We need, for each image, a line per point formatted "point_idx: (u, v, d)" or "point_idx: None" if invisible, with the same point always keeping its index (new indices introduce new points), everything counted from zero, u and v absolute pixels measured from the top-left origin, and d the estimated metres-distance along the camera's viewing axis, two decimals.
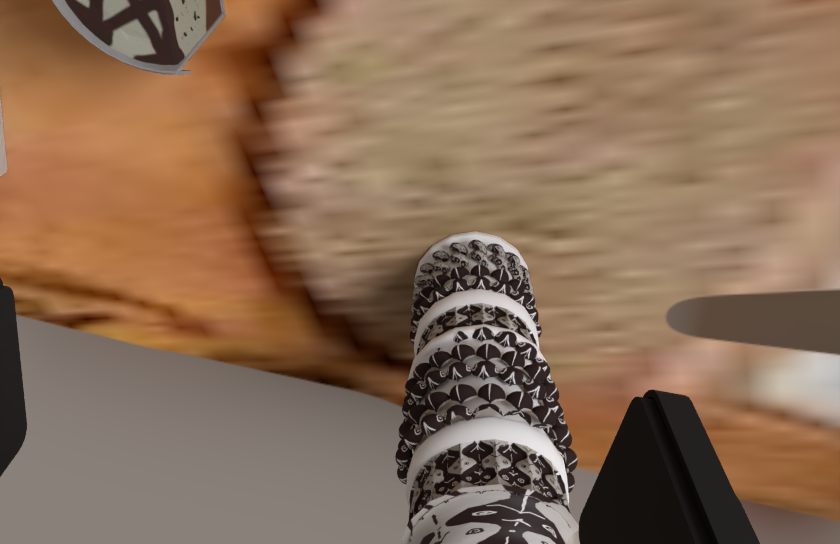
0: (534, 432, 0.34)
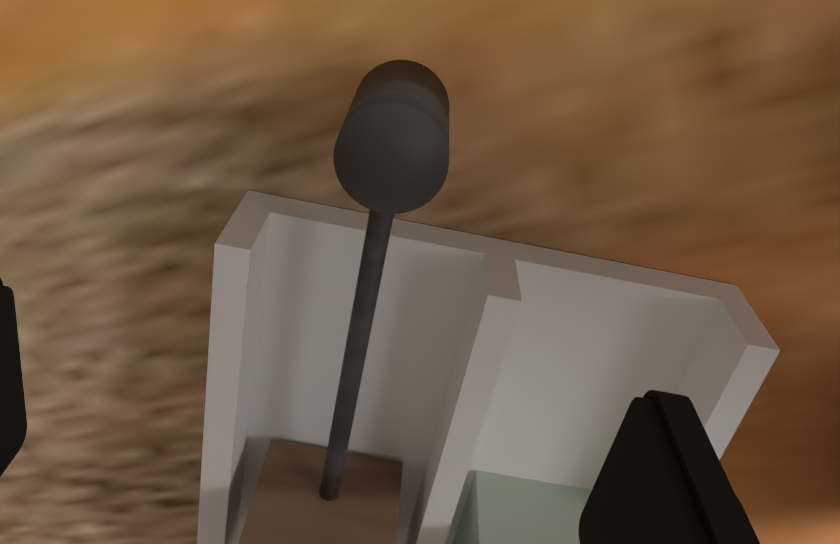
0: None
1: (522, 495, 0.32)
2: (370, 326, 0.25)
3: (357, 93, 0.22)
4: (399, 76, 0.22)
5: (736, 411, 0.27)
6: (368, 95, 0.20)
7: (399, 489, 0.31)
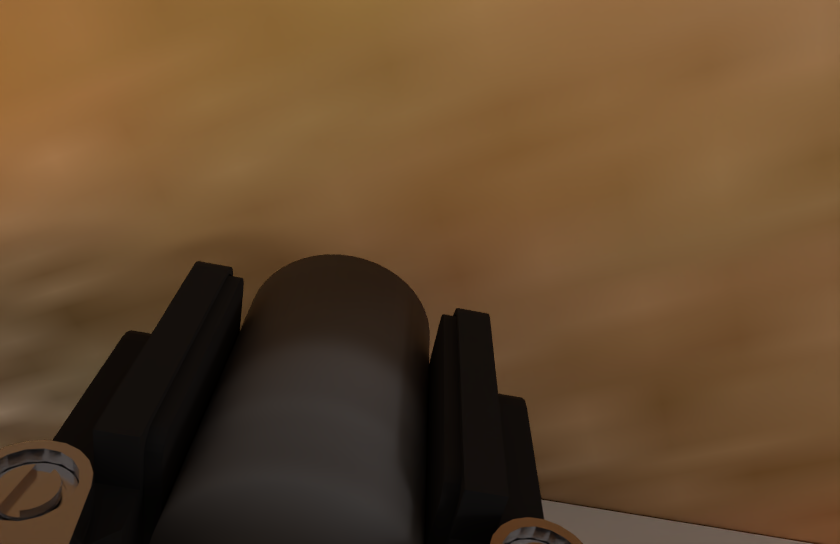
0: None
1: None
2: None
3: (236, 347, 0.11)
4: (319, 324, 0.10)
5: None
6: (238, 402, 0.09)
7: None
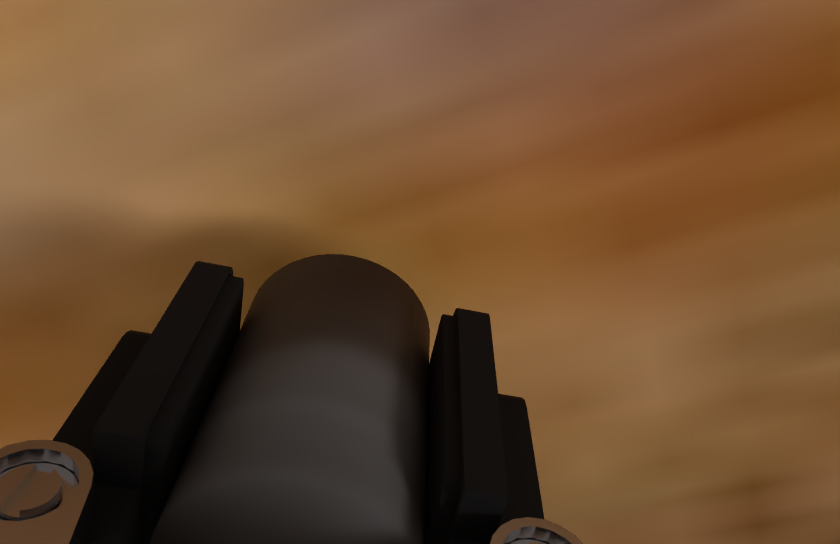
0: None
1: None
2: None
3: (236, 346, 0.11)
4: (321, 324, 0.10)
5: None
6: (239, 402, 0.09)
7: None
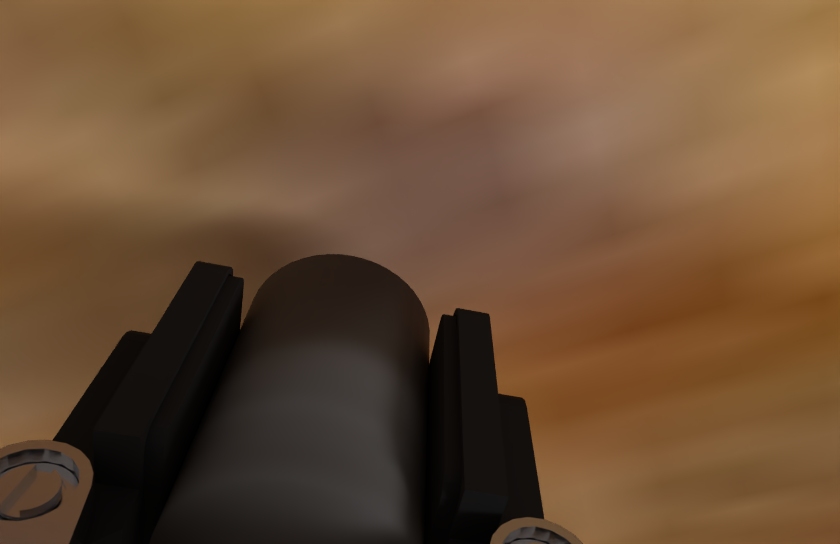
0: None
1: None
2: None
3: (236, 346, 0.11)
4: (320, 324, 0.10)
5: None
6: (239, 402, 0.09)
7: None
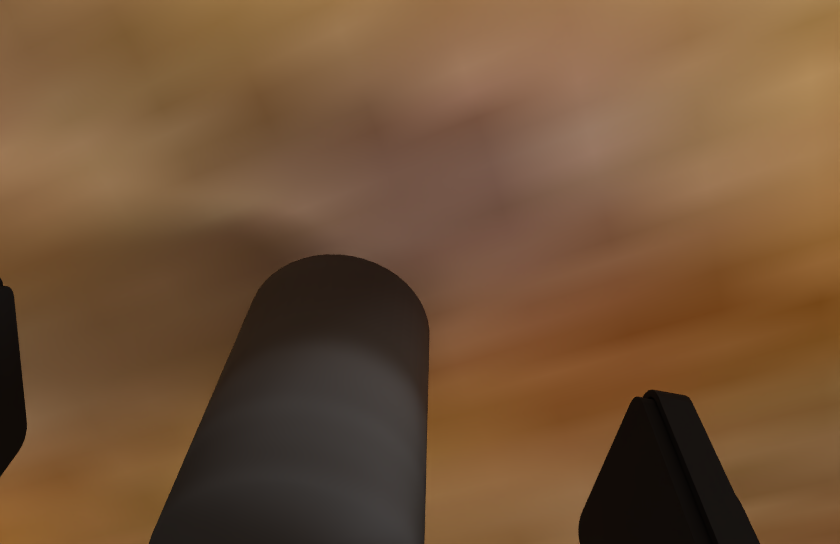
0: None
1: None
2: None
3: (235, 347, 0.11)
4: (319, 324, 0.10)
5: None
6: (238, 402, 0.09)
7: None
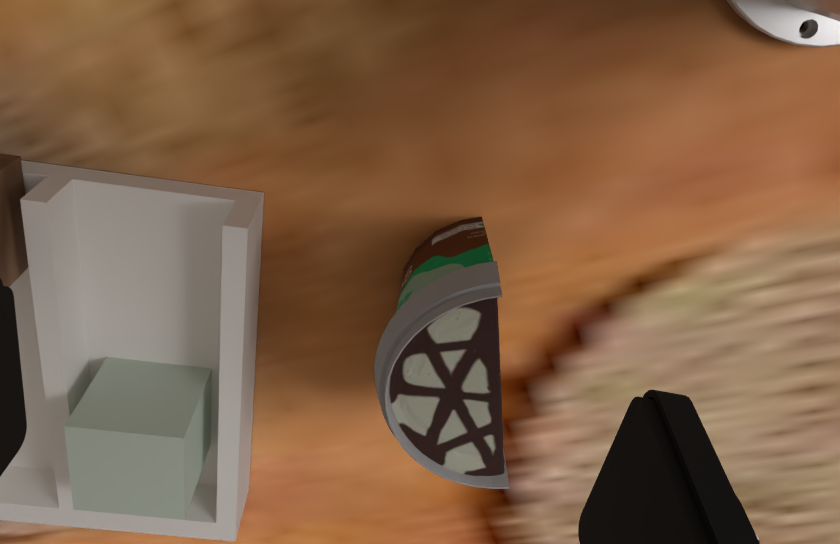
0: None
1: (137, 372, 0.41)
2: None
3: None
4: None
5: (237, 279, 0.36)
6: None
7: (2, 168, 0.34)
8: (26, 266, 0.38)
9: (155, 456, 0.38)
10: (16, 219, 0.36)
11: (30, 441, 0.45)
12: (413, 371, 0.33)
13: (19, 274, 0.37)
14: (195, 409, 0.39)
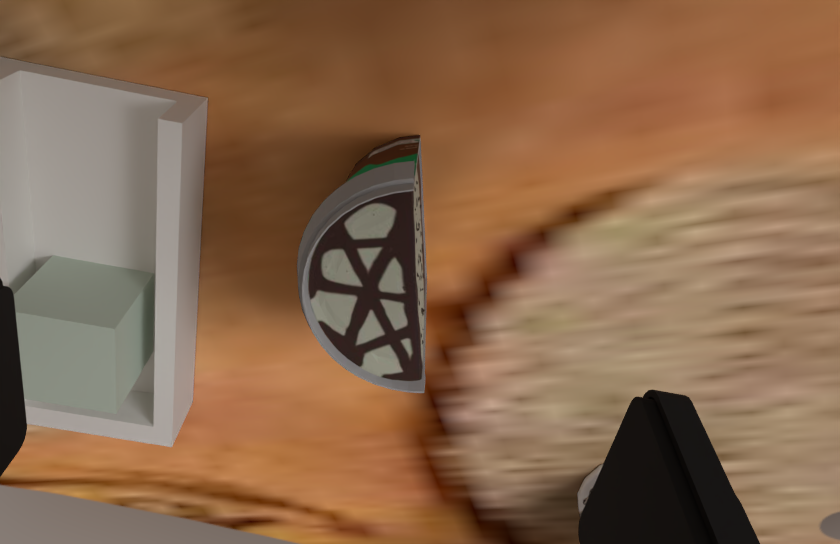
0: None
1: (80, 270, 0.42)
2: None
3: None
4: None
5: (173, 176, 0.37)
6: None
7: None
8: None
9: (87, 346, 0.39)
10: None
11: None
12: (331, 267, 0.34)
13: None
14: (131, 306, 0.40)
